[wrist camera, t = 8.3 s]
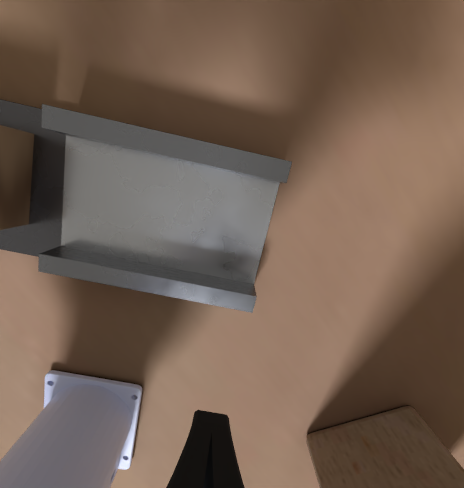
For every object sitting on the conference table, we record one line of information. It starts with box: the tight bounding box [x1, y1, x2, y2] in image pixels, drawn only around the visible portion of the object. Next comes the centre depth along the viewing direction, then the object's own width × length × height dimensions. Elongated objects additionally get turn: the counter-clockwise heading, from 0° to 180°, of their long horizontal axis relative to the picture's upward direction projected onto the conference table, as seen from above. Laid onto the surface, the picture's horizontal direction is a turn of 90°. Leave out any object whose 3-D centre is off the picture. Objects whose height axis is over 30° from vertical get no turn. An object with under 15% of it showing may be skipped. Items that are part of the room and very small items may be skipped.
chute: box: [0, 100, 292, 312], centre depth 15 cm, size 10×24×3 cm, turn 78°
